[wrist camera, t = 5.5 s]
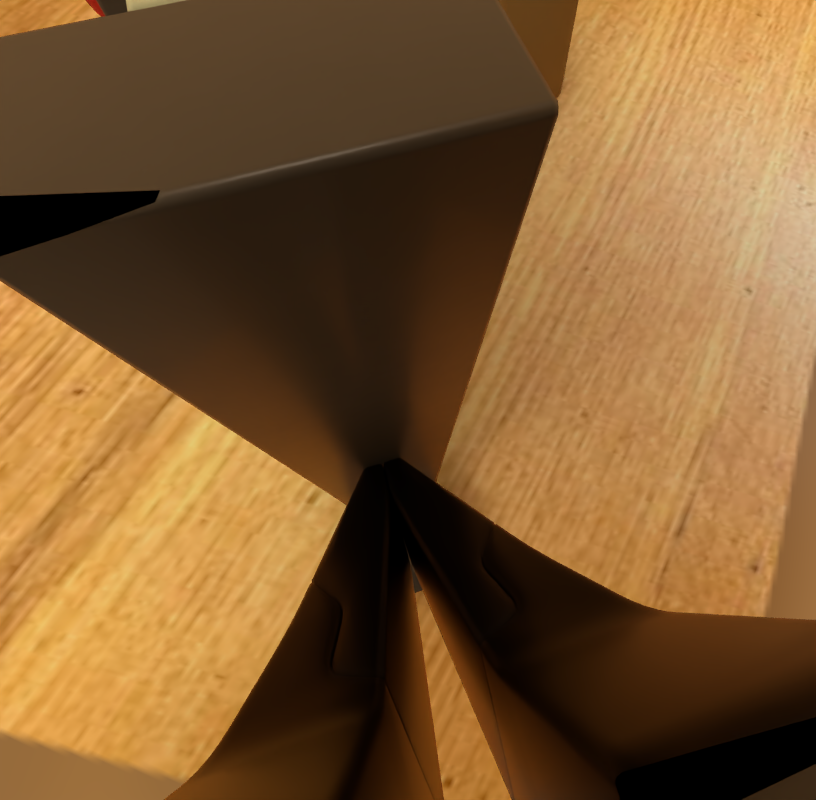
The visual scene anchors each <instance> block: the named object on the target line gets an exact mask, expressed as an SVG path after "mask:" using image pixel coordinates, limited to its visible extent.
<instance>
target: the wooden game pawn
mask: <svg viewBox="0 0 816 800" xmlns="http://www.w3.org/2000/svg"><path fill="white" fill-rule="evenodd" d="M498 1H499V2H500V4H501V6H502V7H503V9H504V11H505V12H506V14H507V16H508V17H509V19H510V21H511V22H512V24H513V26H514V28H515V29H516V31H517V33H518V34H519V36H520V38H521V39H522V41H523V43H524V44H525V46H526V48H527V50H528V51H529V53H530V55H531V56H532V58H533V60H534V61H535V63H536V65H537V66H538V68H539V70H540V72H541V73H542V75H543V77H544V78H545V80H546V82H547V83H548V85H549V87H550V88H551V90H552V92H553V94H554V95H555V97H556V98H557V97H558V95H559V94H560V91H561V87H562V82H563V78H564V72H565V67H566V62H567V57H568V52H569V47H570V41H571V36H572V31H573V26H574V21H575V16H576V10H577V5H578V0H498Z"/></svg>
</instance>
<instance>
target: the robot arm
mask: <svg viewBox="0 0 816 800" xmlns="http://www.w3.org/2000/svg"><path fill="white" fill-rule="evenodd" d="M383 467H384V468H383ZM405 544H406V545H405ZM407 551H408V552H407ZM408 554H409V556H408ZM409 557H410V560H409ZM410 561H411V563H412V566H413V569H414V571H415V574H416V576H417V578H418V581H419V583H420V585H421V588H422V590H423V592H424V595H425V597H426V599H427V602H428V604H429V606H430V609H431V611H432V613H433V616H434V618H435V620H436V623H437V625H438V627H439V630H440V632H441V634H442V637H443V639H444V641H445V644H446V646H447V648H448V651H449V653H450V656H451V658H452V660H453V663H454V665H455V667H456V670H457V672H458V674H459V677H460V679H461V681H462V684H463V686H464V688H465V691H466V693H467V695H468V698H469V700H470V702H471V705H472V707H473V709H474V712H475V714H476V716H477V719H478V721H479V723H480V726H481V728H482V730H483V733H484V735H485V738H486V740H487V742H488V745H489V747H490V749H491V752H492V754H493V756H494V759H495V761H496V763H497V766H498V768H499V770H500V773H501V775H502V777H503V780H504V782H505V784H506V787H507V789H508V791H509V794H510V796H511V798H512V800H816V620H805V619H785V618H768V617H750V616H732V615H713V614H695V613H677V612H667V611H661V610H657V609H653V608H650V607H647V606H644V605H641V604H639V603H636V602H634V601H631V600H629V599H627V598H625V597H623V596H621V595H619V594H617V593H615V592H613V591H611V590H609V589H608V588H606V587H604V586H602V585H600V584H598V583H596V582H594V581H592V580H591V579H589V578H587V577H585V576H583V575H581V574H579V573H577V572H575V571H573V570H572V569H570V568H568V567H566V566H564V565H562V564H560V563H558V562H556V561H555V560H553V559H551V558H549V557H547V556H546V555H544V554H542V553H540V552H539V551H537V550H535V549H533V548H532V547H530V546H528V545H527V544H525V543H524V542H522V541H520V540H519V539H517V538H516V537H514V536H513V535H511V534H510V533H508V532H507V531H505V530H504V529H502V528H501V527H500V526H498V525H497V524H494V523H493V522H492V521H491V520H489V519H488V518H486V517H485V516H484V515H482V514H481V513H479V512H478V511H476V510H475V509H474V508H472V507H471V506H469V505H468V504H466V503H465V502H463V501H462V500H461V499H459V498H458V497H456V496H455V495H453V494H452V493H451V492H449V491H448V490H446V489H445V488H443V487H442V486H440V485H439V484H438V483H436V482H435V481H433V480H432V479H430V478H429V477H428V476H426V475H425V474H423V473H422V472H420V471H419V470H417V469H416V468H415V467H413V466H412V465H410V464H409V463H407V462H406V461H405V460H403V459H401V458H398V459H394V460H391V461H388V462H385V463H384V465H381V464H378V465H375V466H371V467H368V468H365V469H364V470H363V472H362V474H361V476H360V478H359V480H358V482H357V485H356V487H355V489H354V491H353V493H352V495H351V498H350V500H349V502H348V504H347V506H346V508H345V510H344V513H343V515H342V517H341V519H340V521H339V523H338V526H337V528H336V530H335V532H334V534H333V536H332V538H331V541H330V543H329V545H328V547H327V549H326V551H325V554H324V556H323V558H322V560H321V562H320V564H319V566H318V569H317V571H316V573H315V575H314V577H313V579H312V583H311V584H310V585H309V588H308V590H307V592H306V594H305V596H304V598H303V600H302V602H301V604H300V606H299V608H298V610H297V612H296V614H295V616H294V618H293V620H292V622H291V624H290V626H289V628H288V630H287V631H286V633H285V635H284V637H283V639H282V640H281V642H280V644H279V646H278V647H277V649H276V651H275V653H274V654H273V656H272V658H271V659H270V661H269V663H268V664H267V666H266V668H265V669H264V671H263V673H262V674H261V676H260V678H259V679H258V681H257V683H256V684H255V686H254V688H253V689H252V691H251V693H250V694H249V696H248V698H247V699H246V701H245V703H244V704H243V706H242V708H241V709H240V711H239V713H238V714H237V716H236V718H235V719H234V721H233V723H232V724H231V726H230V728H229V729H228V731H227V732H226V734H225V735H224V737H223V739H222V740H221V742H220V743H219V745H218V746H217V747H216V749H215V750H214V751H213V753H212V754H211V755H210V757H209V758H208V759H207V760H206V762H205V763H204V764H203V765H202V766H201V767H200V769H199V770H198V771H197V772H196V773H195V774H194V775H193V776H192V777H191V778H190V779H189V780H188V781H186V782H185V783H184V784H183V785H182V786H181V787H179V788H178V789H177V790H176V791H174V792H173V793H172V794H170V795H169V796H168V797H167V798H165V799H164V800H444V797H443V790H442V783H441V776H440V769H439V762H438V755H437V748H436V740H435V733H434V726H433V719H432V712H431V705H430V698H429V691H428V684H427V677H426V670H425V662H424V655H423V648H422V641H421V634H420V627H419V620H418V613H417V606H416V599H415V592H414V584H413V577H412V571H411V565H410Z"/></svg>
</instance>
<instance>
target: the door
mask: <svg viewBox="0 0 816 800" xmlns="http://www.w3.org/2000/svg"><path fill="white" fill-rule="evenodd" d="M126 5H127V11H128V12H124V13H119V14H114V15H109V16H104V17H99V18H94V19H89V20H84V21H79V22H74V23H69V24H64V25H59V26H53V27H48V28H43V29H38V30H33V31H28V32H23V33H18V34H13V35H8V36H3V37H0V281H1V282H3V283H4V284H6V285H7V286H9V287H11V288H12V289H14V290H15V291H17V292H18V293H20V294H21V295H23V296H24V297H26V298H28V299H29V300H31V301H32V302H34V303H35V304H37V305H38V306H40V307H41V308H43V309H45V310H46V311H48V312H49V313H51V314H52V315H54V316H55V317H57V318H58V319H60V320H62V321H63V322H65V323H66V324H68V325H69V326H71V327H72V328H74V329H75V330H77V331H79V332H80V333H82V334H83V335H85V336H86V337H88V338H89V339H91V340H92V341H94V342H96V343H97V344H99V345H100V346H102V347H103V348H105V349H106V350H108V351H109V352H111V353H113V354H114V355H116V356H117V357H119V358H120V359H122V360H123V361H125V362H126V363H128V364H130V365H131V366H133V367H134V368H136V369H137V370H139V371H140V372H142V373H143V374H145V375H147V376H148V377H150V378H151V379H153V380H154V381H156V382H157V383H159V384H160V385H162V386H164V387H165V388H167V389H168V390H170V391H171V392H173V393H174V394H176V395H177V396H179V397H181V398H182V399H184V400H185V401H187V402H188V403H190V404H191V405H193V406H194V407H196V408H198V409H199V410H201V411H202V412H204V413H205V414H207V415H208V416H210V417H211V418H213V419H215V420H216V421H218V422H219V423H221V424H222V425H224V426H225V427H227V428H228V429H230V430H232V431H233V432H235V433H236V434H238V435H239V436H241V437H242V438H244V439H245V440H247V441H249V442H250V443H252V444H253V445H255V446H256V447H258V448H259V449H261V450H262V451H264V452H266V453H267V454H269V455H270V456H272V457H273V458H275V459H276V460H278V461H279V462H281V463H283V464H284V465H286V466H287V467H289V468H290V469H292V470H293V471H295V472H296V473H298V474H300V475H301V476H303V477H304V478H306V479H307V480H309V481H310V482H312V483H313V484H315V485H317V486H318V487H320V488H321V489H323V490H324V491H326V492H327V493H329V494H330V495H332V496H334V497H335V498H337V499H338V500H340V501H341V502H343V503H344V504H346V505H347V504H348V502H349V500H350V498H351V495H352V493H353V491H354V489H355V487H356V485H357V482H358V480H359V478H360V476H361V474H362V472H363V470H364V469H365V468H368V467H371V466H375V465H378V464H381V465H384V463H385V462H388V461H391V460H394V459H398V458H401V459H403V460H405V461H406V462H407V463H409V464H410V465H412V466H413V467H415V468H416V469H417V470H419V471H420V472H422V473H423V474H425V475H426V476H428V477H429V478H430V479H432V480H433V481H435V482H436V479H437V476H438V473H439V470H440V467H441V464H442V461H443V458H444V455H445V452H446V449H447V446H448V443H449V440H450V437H451V434H452V431H453V428H454V425H455V422H456V419H457V416H458V413H459V410H460V407H461V404H462V401H463V398H464V395H465V392H466V389H467V386H468V383H469V380H470V377H471V374H472V371H473V368H474V365H475V362H476V359H477V356H478V353H479V350H480V347H481V344H482V341H483V338H484V335H485V332H486V329H487V326H488V323H489V320H490V317H491V314H492V311H493V308H494V305H495V302H496V299H497V296H498V293H499V290H500V287H501V284H502V281H503V278H504V275H505V272H506V269H507V266H508V263H509V260H510V257H511V254H512V251H513V248H514V245H515V242H516V239H517V236H518V233H519V230H520V227H521V224H522V221H523V218H524V215H525V212H526V209H527V206H528V204H529V201H530V198H531V195H532V192H533V189H534V186H535V183H536V180H537V177H538V174H539V171H540V168H541V165H542V162H543V159H544V156H545V153H546V150H547V147H548V144H549V141H550V138H551V135H552V132H553V129H554V126H555V123H556V120H557V117H558V101H557V99H556V97H555V95H554V94H553V92H552V90H551V88H550V87H549V85H548V83H547V82H546V80H545V78H544V77H543V75H542V73H541V72H540V70H539V68H538V66H537V65H536V63H535V61H534V60H533V58H532V56H531V55H530V53H529V51H528V50H527V48H526V46H525V44H524V43H523V41H522V39H521V38H520V36H519V34H518V33H517V31H516V29H515V28H514V26H513V24H512V22H511V21H510V19H509V17H508V16H507V14H506V12H505V11H504V9H503V7H502V6H501V4H500V2H499V1H498V0H126ZM383 468H384V467H383Z"/></svg>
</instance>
